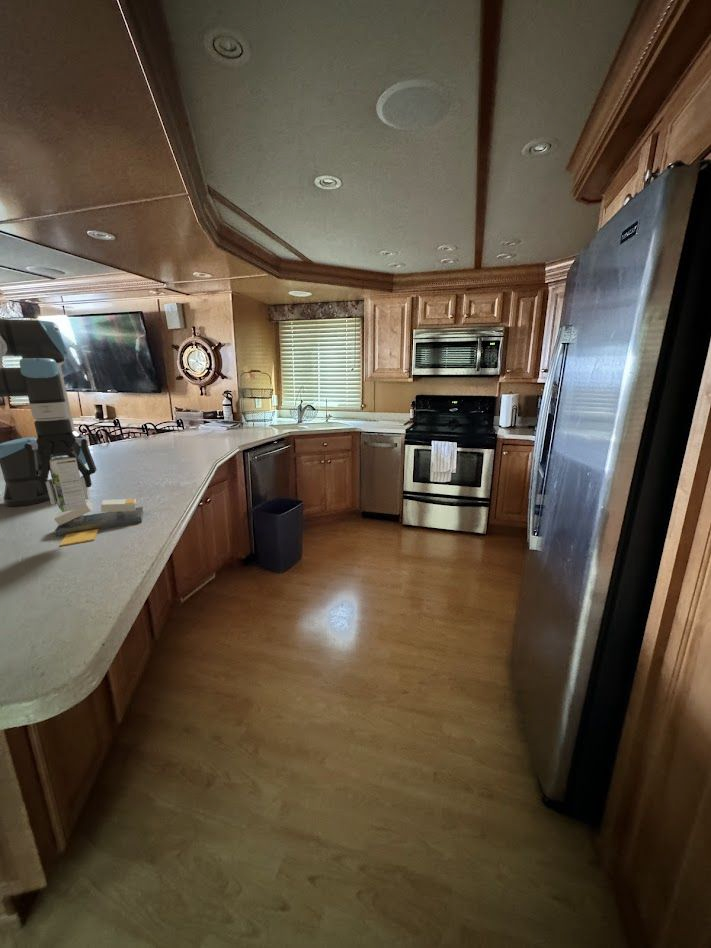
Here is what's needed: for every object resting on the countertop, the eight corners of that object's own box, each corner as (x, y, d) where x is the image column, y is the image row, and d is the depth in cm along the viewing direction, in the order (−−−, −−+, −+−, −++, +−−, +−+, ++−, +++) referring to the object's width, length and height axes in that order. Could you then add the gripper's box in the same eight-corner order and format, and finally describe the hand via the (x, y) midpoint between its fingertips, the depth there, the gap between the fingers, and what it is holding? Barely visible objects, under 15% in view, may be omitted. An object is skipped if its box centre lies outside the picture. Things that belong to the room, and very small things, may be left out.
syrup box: (58, 507, 106) (45, 457, 102) (82, 502, 110) (71, 454, 106) (62, 512, 102) (49, 460, 98) (87, 506, 106) (76, 456, 102)
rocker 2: (103, 507, 120) (103, 499, 119) (136, 506, 124) (136, 498, 124) (101, 512, 116) (101, 503, 115) (135, 510, 120) (135, 503, 119)
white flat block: (63, 519, 116) (58, 513, 115) (93, 505, 119) (89, 499, 118) (59, 525, 112) (54, 519, 111) (90, 510, 114) (86, 504, 113)
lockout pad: (66, 535, 110) (66, 534, 110) (98, 530, 114) (98, 528, 114) (59, 546, 104) (59, 545, 103) (94, 540, 107) (94, 538, 107)
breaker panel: (64, 524, 119) (62, 514, 118) (143, 512, 128) (141, 502, 127) (56, 536, 110) (53, 525, 109) (141, 522, 119) (139, 512, 118)
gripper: (-3, 423, 92) (21, 511, 98) (94, 417, 100) (111, 498, 106) (8, 420, 99) (30, 502, 105) (98, 414, 107) (114, 491, 113)
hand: (71, 500), depth 106 cm, fingers closed on syrup box, 7 cm apart
